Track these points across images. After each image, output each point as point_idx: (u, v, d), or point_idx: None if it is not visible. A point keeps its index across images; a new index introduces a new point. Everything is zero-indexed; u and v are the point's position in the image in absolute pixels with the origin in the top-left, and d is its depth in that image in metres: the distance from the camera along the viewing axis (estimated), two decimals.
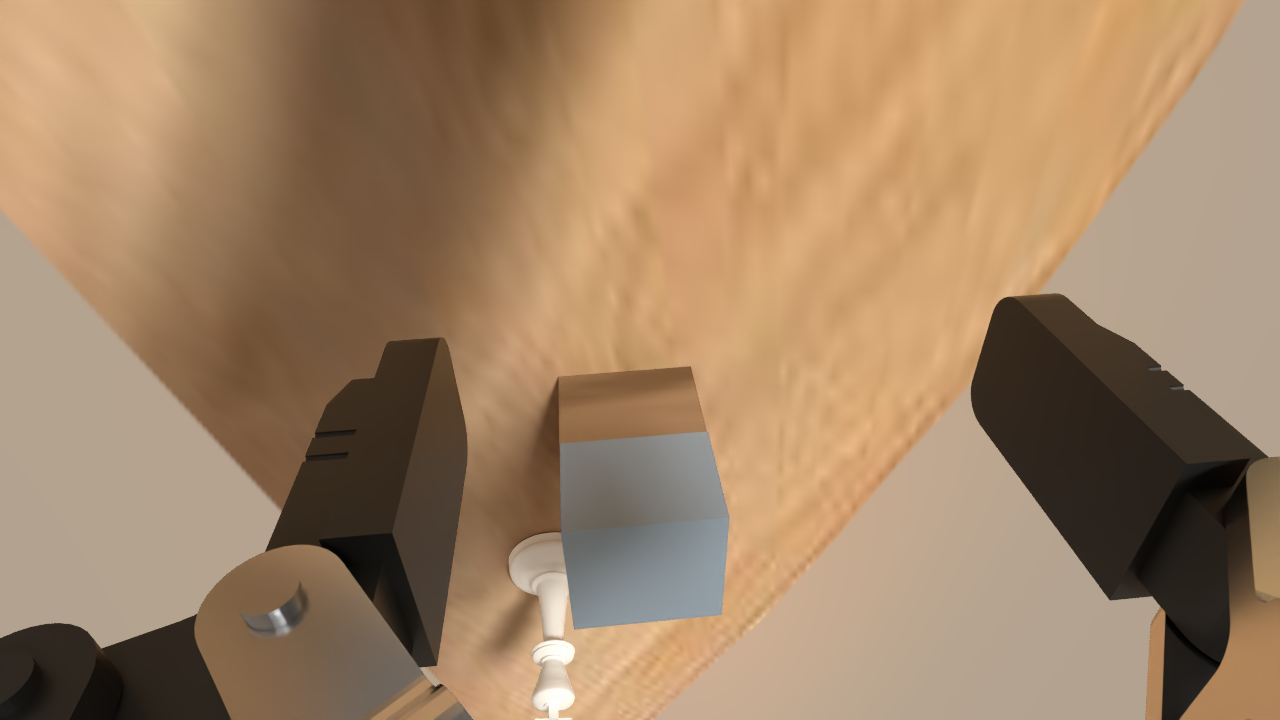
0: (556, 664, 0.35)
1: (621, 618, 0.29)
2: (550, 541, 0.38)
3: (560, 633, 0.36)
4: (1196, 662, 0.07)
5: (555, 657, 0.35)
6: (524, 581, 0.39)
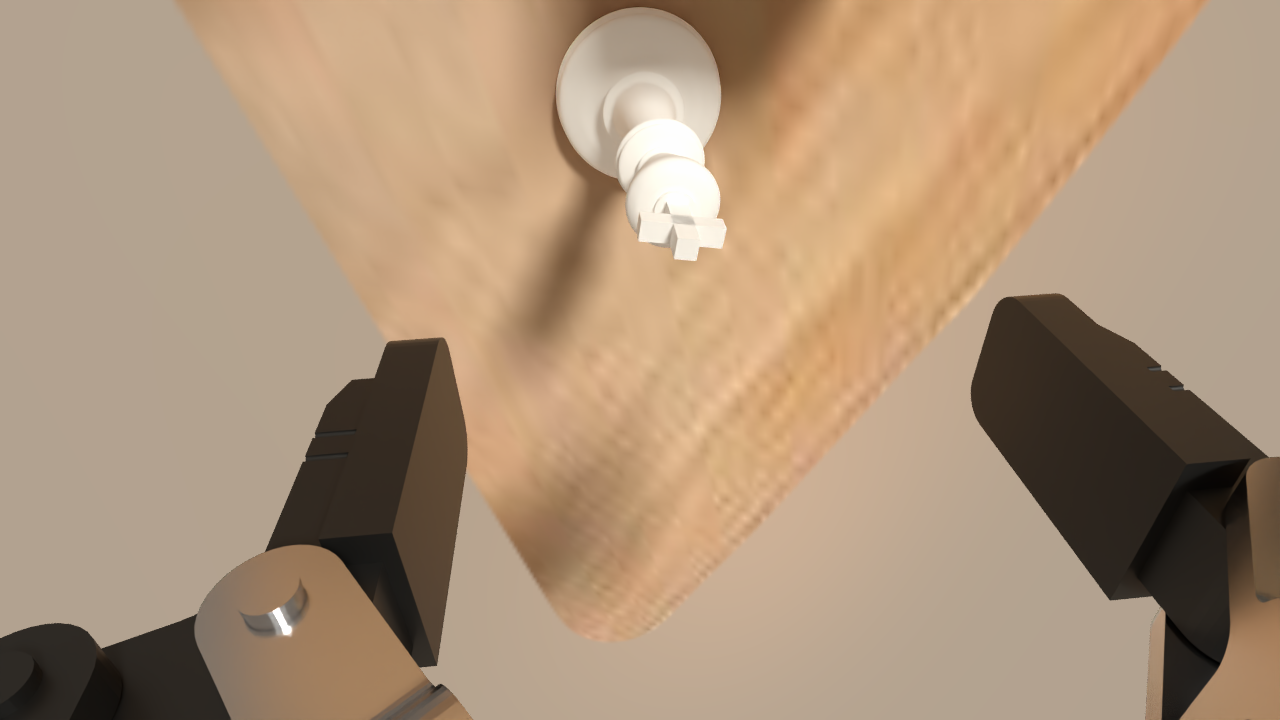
0: (674, 154, 0.16)
1: None
2: (640, 16, 0.20)
3: None
4: (1196, 662, 0.07)
5: (669, 152, 0.16)
6: (587, 117, 0.21)
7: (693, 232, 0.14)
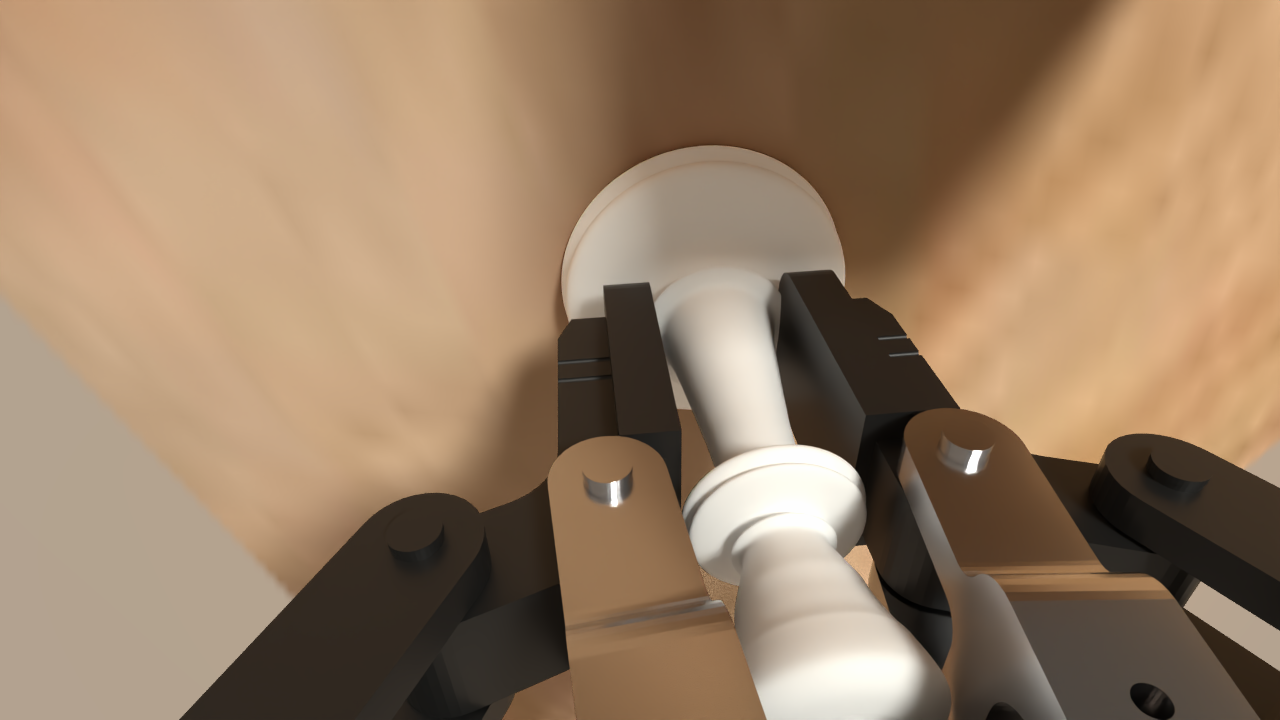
0: (822, 550, 0.07)
1: None
2: (714, 164, 0.11)
3: None
4: (917, 616, 0.08)
5: (803, 523, 0.08)
6: None
7: None
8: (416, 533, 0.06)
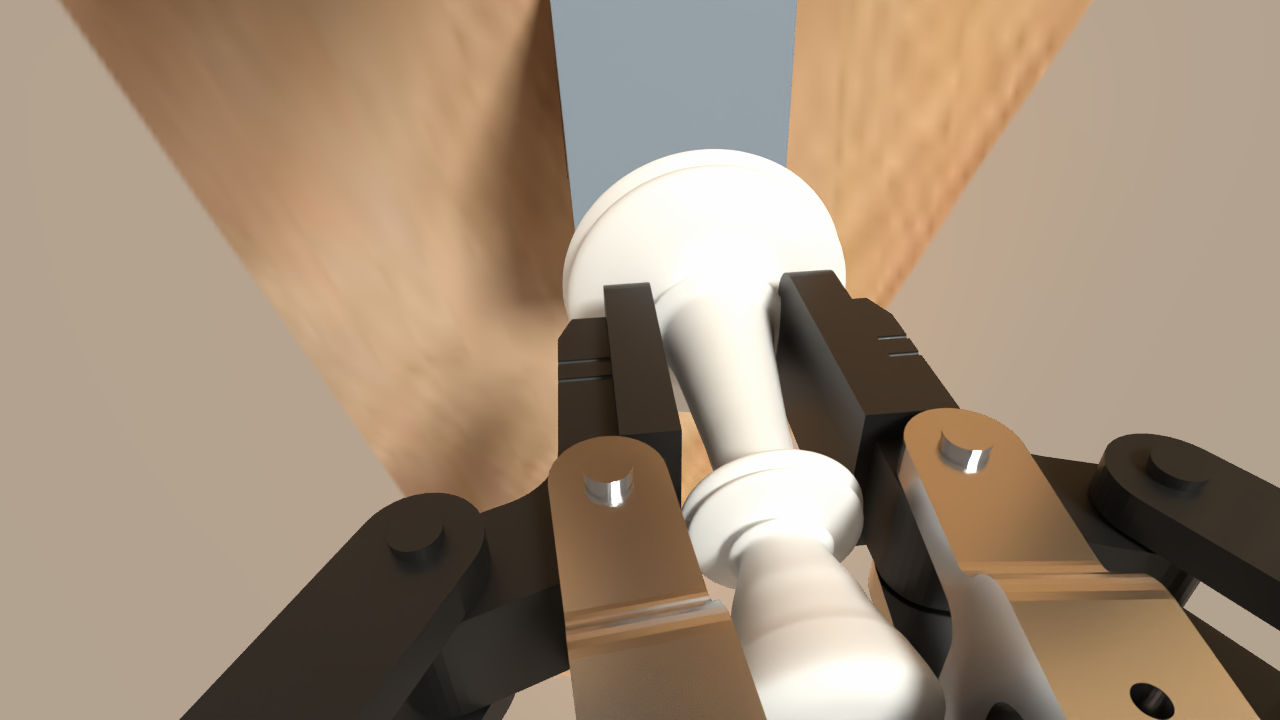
0: (819, 555, 0.07)
1: None
2: (715, 168, 0.11)
3: None
4: (917, 616, 0.08)
5: (800, 528, 0.08)
6: None
7: None
8: (416, 534, 0.06)
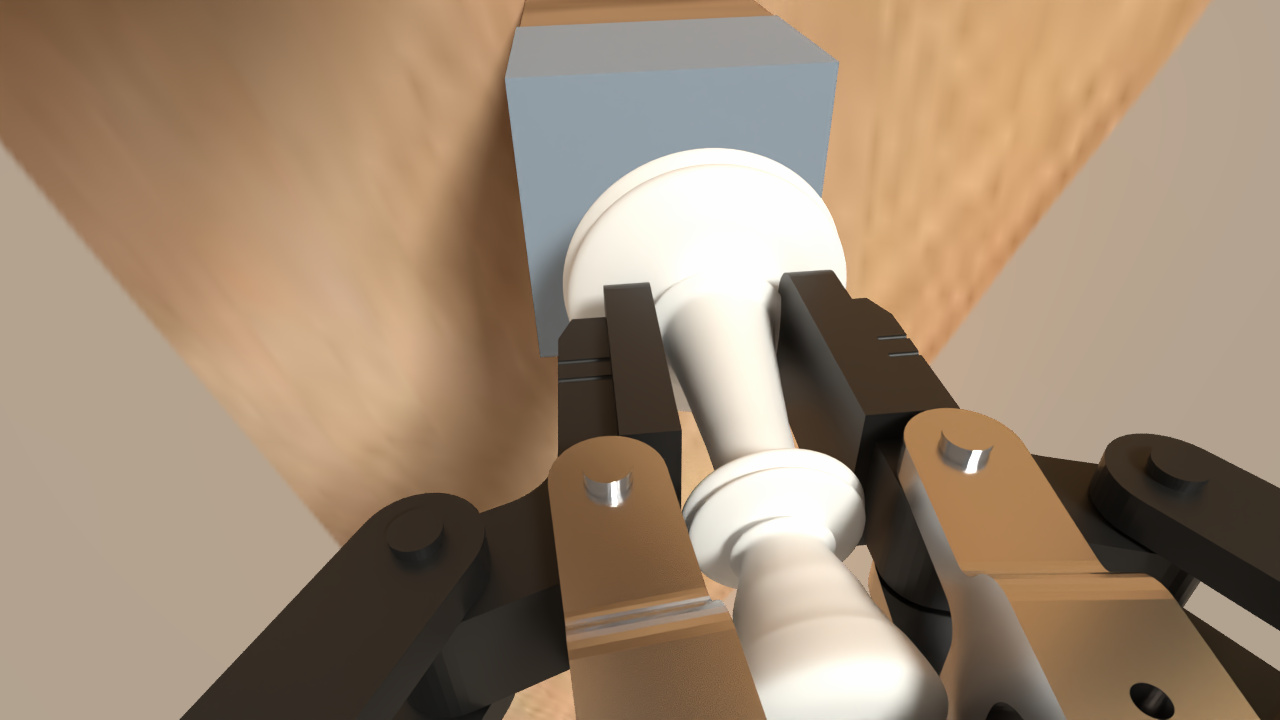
0: (820, 553, 0.07)
1: None
2: (715, 167, 0.11)
3: None
4: (917, 616, 0.08)
5: (802, 527, 0.08)
6: None
7: None
8: (416, 534, 0.06)
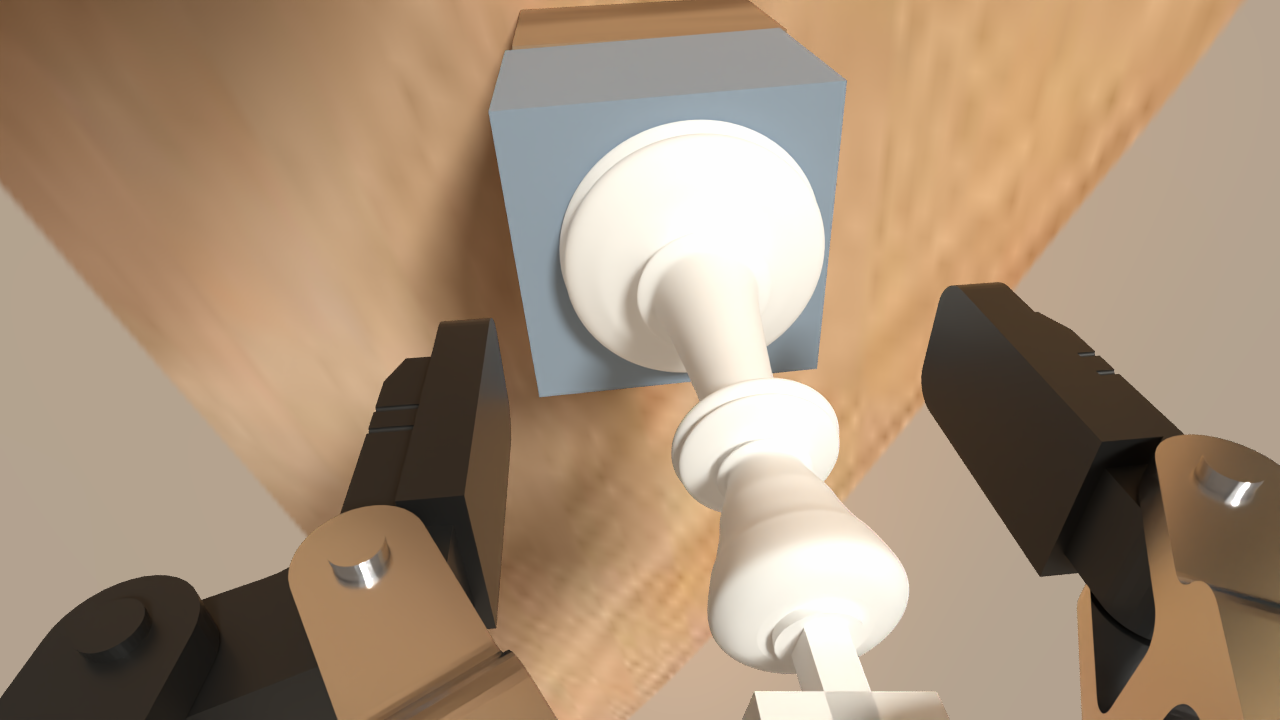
0: (798, 468, 0.08)
1: (627, 371, 0.15)
2: (703, 136, 0.12)
3: None
4: (1123, 639, 0.08)
5: (782, 447, 0.08)
6: (609, 291, 0.13)
7: None
8: (114, 628, 0.06)
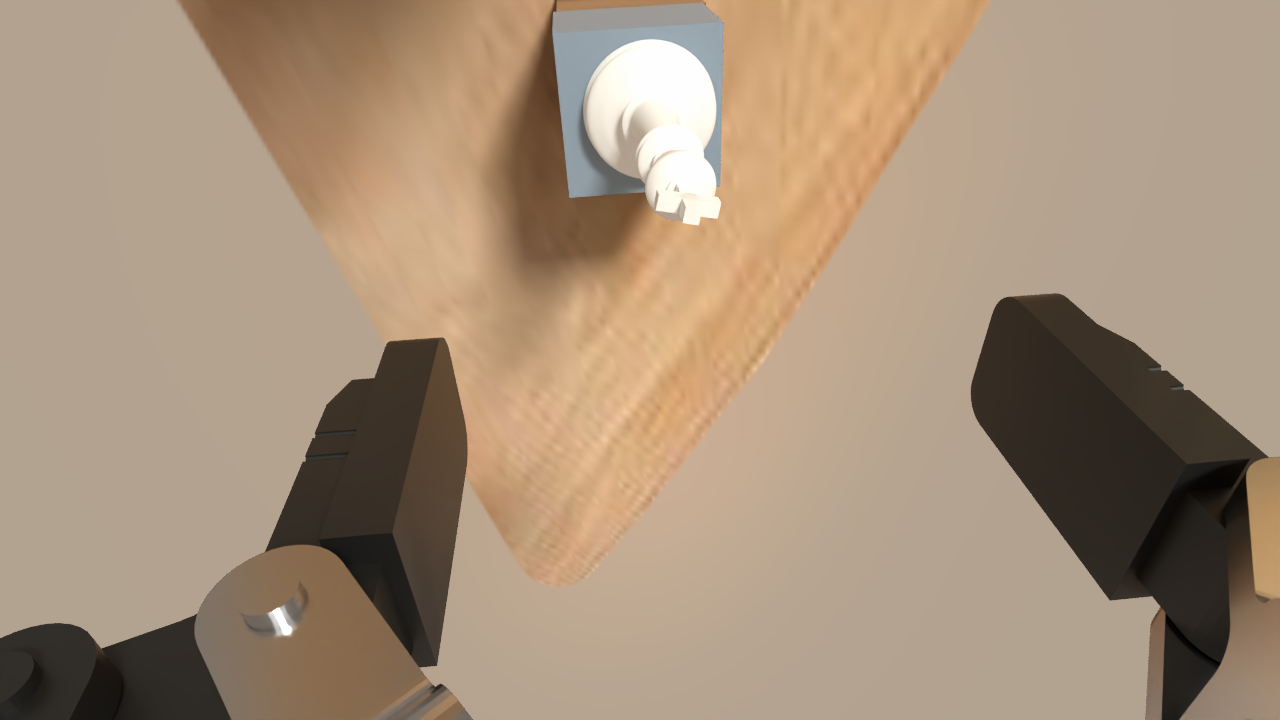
0: None
1: (617, 183, 0.28)
2: (654, 46, 0.25)
3: None
4: (1197, 662, 0.07)
5: (677, 149, 0.21)
6: (608, 125, 0.26)
7: (697, 204, 0.19)
8: None
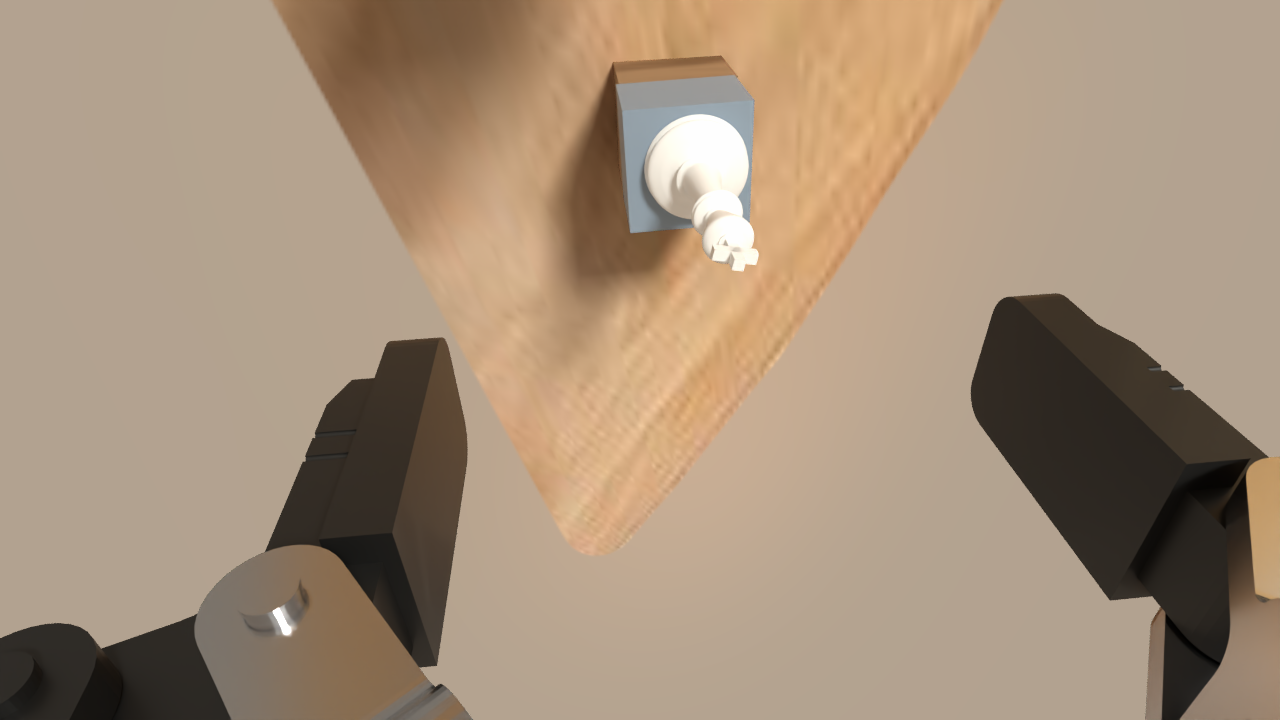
0: (727, 211, 0.28)
1: (668, 221, 0.36)
2: (701, 120, 0.32)
3: None
4: (1196, 662, 0.07)
5: (723, 209, 0.29)
6: (665, 180, 0.33)
7: (742, 256, 0.26)
8: (0, 684, 0.05)
